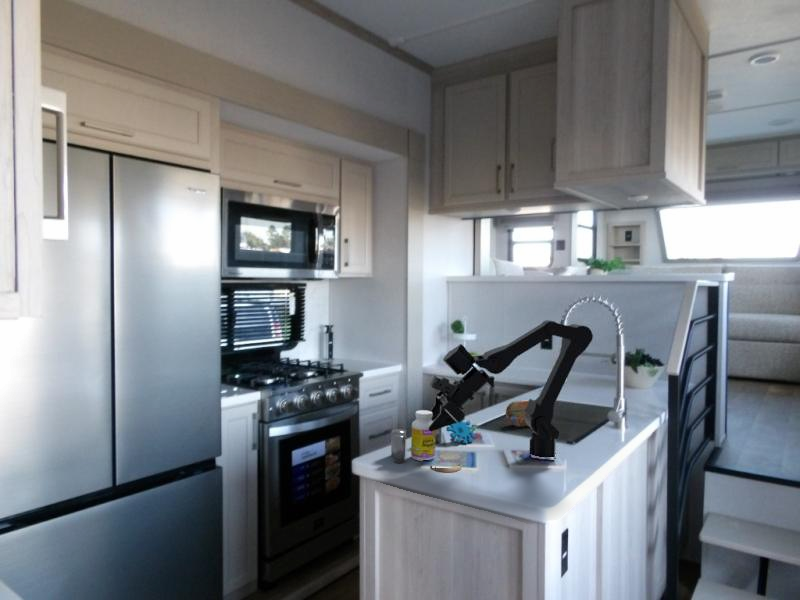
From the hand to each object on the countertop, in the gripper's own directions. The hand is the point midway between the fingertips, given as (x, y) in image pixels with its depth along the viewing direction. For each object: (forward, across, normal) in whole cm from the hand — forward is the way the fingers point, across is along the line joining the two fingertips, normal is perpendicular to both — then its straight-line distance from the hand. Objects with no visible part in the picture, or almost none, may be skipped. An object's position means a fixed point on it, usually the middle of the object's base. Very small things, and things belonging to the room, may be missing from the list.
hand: (427, 425), depth 158 cm
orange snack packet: (-20, -35, +33) cm, 52 cm away
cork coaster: (+3, +8, +9) cm, 13 cm away
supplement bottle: (+7, 0, +6) cm, 9 cm away
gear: (-2, -16, +15) cm, 22 cm away
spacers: (+8, -7, +4) cm, 11 cm away
